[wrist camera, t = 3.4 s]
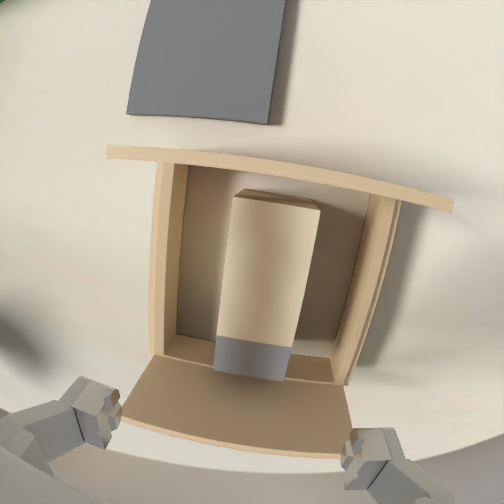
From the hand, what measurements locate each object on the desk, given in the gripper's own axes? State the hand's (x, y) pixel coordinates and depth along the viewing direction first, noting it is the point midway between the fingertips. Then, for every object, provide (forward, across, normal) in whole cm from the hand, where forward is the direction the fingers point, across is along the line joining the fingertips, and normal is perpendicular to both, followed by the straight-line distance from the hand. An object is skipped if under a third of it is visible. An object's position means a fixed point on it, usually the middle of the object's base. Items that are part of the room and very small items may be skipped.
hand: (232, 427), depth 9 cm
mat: (+16, +7, -20) cm, 27 cm away
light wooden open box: (+16, 0, 0) cm, 16 cm away
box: (+16, 0, 0) cm, 16 cm away
